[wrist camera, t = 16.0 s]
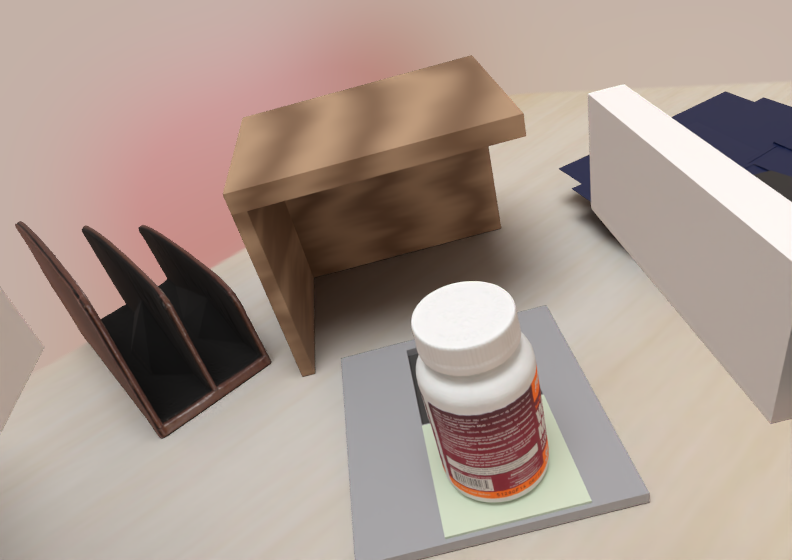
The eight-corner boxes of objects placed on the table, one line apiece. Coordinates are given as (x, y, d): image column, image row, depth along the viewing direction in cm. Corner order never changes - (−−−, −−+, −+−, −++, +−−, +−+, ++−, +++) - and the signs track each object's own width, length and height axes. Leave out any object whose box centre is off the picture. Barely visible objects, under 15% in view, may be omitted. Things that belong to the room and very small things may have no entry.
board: (359, 574, 34) (354, 564, 33) (343, 365, 48) (340, 356, 47) (649, 502, 33) (649, 490, 32) (547, 313, 47) (545, 302, 47)
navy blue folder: (734, 109, 64) (741, 76, 62) (1102, 254, 43) (1134, 210, 40) (542, 201, 58) (541, 168, 56) (855, 421, 37) (876, 383, 34)
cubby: (302, 376, 48) (222, 194, 39) (303, 274, 60) (242, 117, 51) (547, 313, 47) (523, 113, 38) (498, 223, 59) (471, 55, 50)
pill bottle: (572, 475, 34) (554, 319, 28) (473, 526, 33) (432, 376, 27) (514, 404, 39) (488, 259, 33) (427, 447, 38) (382, 305, 32)
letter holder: (163, 442, 46) (61, 292, 38) (85, 340, 60) (-1, 214, 52) (274, 364, 50) (204, 214, 42) (178, 286, 64) (111, 162, 56)
